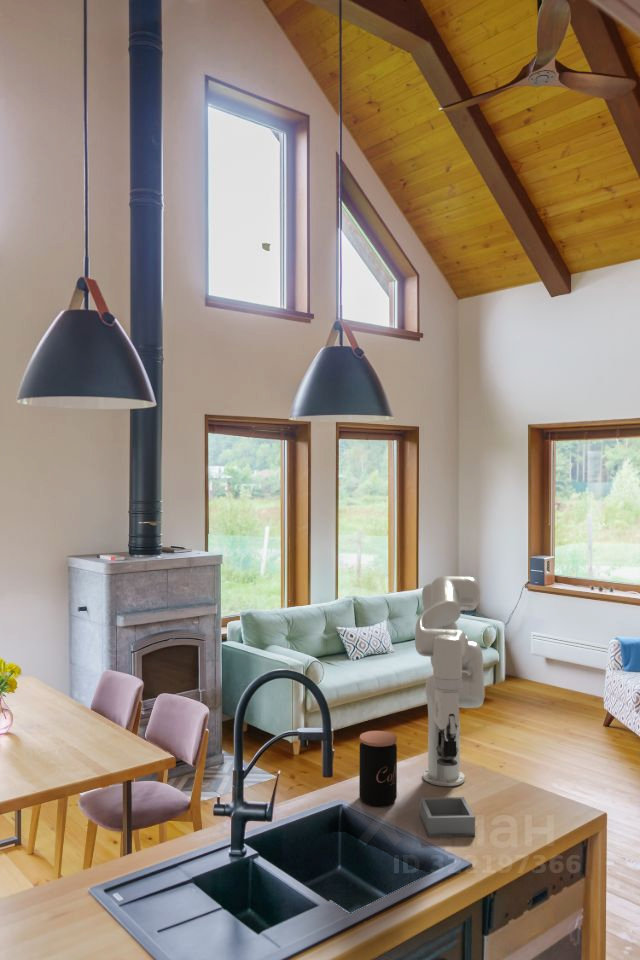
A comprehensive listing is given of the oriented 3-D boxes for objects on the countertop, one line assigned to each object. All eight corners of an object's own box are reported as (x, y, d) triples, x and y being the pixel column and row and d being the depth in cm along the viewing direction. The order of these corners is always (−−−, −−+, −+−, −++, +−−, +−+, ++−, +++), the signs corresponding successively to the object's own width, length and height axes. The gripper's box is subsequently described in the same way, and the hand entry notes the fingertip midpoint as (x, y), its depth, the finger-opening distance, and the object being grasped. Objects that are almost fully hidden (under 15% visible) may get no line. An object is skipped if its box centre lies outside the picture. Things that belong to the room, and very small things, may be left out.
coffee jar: (378, 811, 211) (378, 746, 210) (351, 799, 219) (351, 736, 218) (404, 800, 218) (404, 737, 217) (377, 788, 226) (377, 728, 225)
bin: (419, 816, 208) (420, 798, 208) (463, 815, 208) (463, 797, 208) (428, 837, 196) (428, 818, 196) (475, 836, 196) (475, 817, 196)
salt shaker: (458, 767, 198) (458, 721, 198) (435, 765, 200) (435, 719, 199) (458, 759, 204) (459, 714, 204) (436, 757, 205) (436, 712, 205)
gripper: (427, 674, 210) (426, 740, 210) (440, 692, 193) (439, 764, 193) (454, 674, 210) (453, 739, 211) (469, 692, 193) (469, 763, 193)
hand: (447, 750), depth 202 cm, fingers closed on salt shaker, 5 cm apart
